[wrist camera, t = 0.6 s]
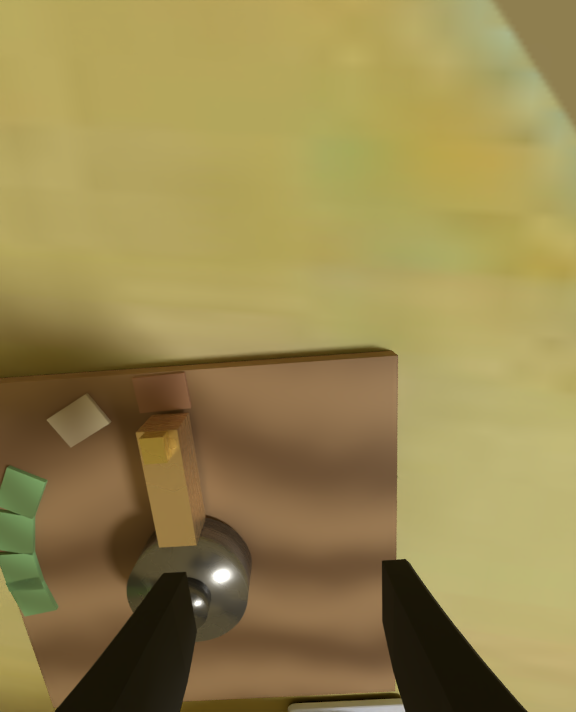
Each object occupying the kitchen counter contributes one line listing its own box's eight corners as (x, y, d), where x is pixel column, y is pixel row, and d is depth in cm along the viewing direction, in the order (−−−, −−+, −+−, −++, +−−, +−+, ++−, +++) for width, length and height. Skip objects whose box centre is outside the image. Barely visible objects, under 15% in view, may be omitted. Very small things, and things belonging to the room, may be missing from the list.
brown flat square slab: (390, 672, 22) (396, 695, 21) (62, 689, 23) (50, 711, 22) (391, 350, 17) (399, 356, 16) (-40, 380, 17) (-64, 388, 16)
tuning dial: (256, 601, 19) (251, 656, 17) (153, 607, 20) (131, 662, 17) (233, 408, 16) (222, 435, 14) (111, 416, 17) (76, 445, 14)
